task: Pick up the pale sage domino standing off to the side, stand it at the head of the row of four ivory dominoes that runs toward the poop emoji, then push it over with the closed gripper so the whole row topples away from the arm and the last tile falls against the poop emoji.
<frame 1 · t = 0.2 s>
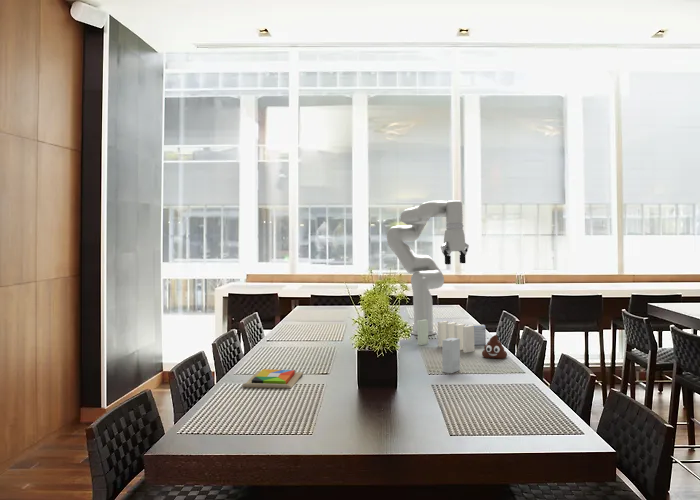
hand: (455, 263, 275), 36 cm above the table, tool pointing down, fingers open, 9 cm apart
domino 3: (451, 347, 260), on the table
wooden puzzle: (273, 383, 210), on the table
domino 5: (468, 351, 252), on the table
domino 2: (443, 346, 264), on the table
skincare box: (451, 372, 218), on the table
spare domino: (423, 344, 270), on the table
poop emoji: (494, 357, 240), on the table
medicine box: (476, 344, 267), on the table
domino 4: (460, 349, 256), on the table
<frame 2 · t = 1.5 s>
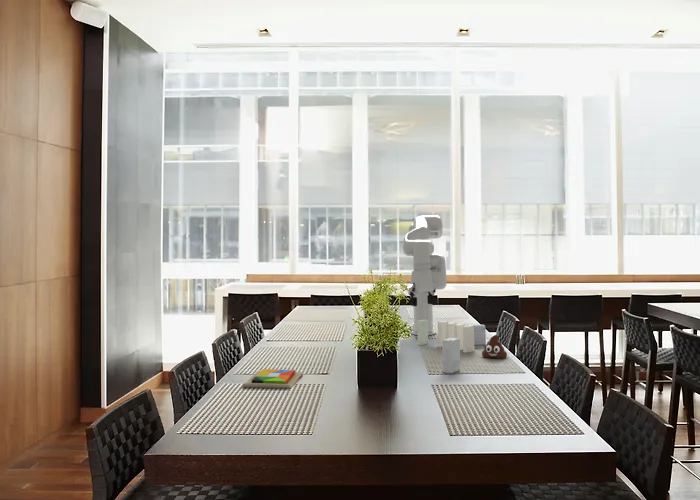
hand: (422, 305, 269), 18 cm above the table, tool pointing down, fingers open, 9 cm apart
nothing on the table moved.
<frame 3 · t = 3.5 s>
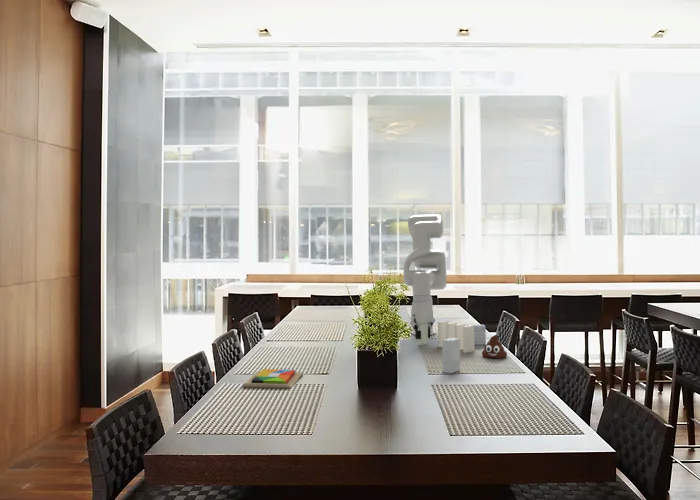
hand: (422, 337, 270), 3 cm above the table, tool pointing down, fingers closed on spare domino, 4 cm apart
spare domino: (423, 344, 270), on the table, touching gripper
everything else where it was.
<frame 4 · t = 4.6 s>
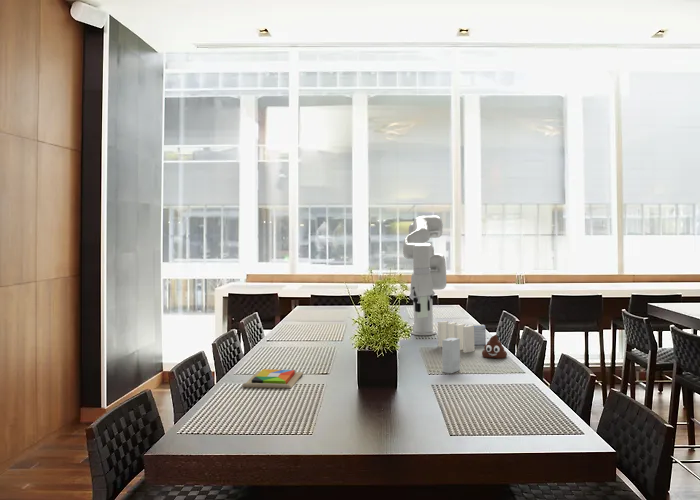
hand: (422, 310, 270), 15 cm above the table, tool pointing down, fingers closed on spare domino, 4 cm apart
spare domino: (422, 317, 270), point 12 cm above the table, touching gripper
everything else where it was.
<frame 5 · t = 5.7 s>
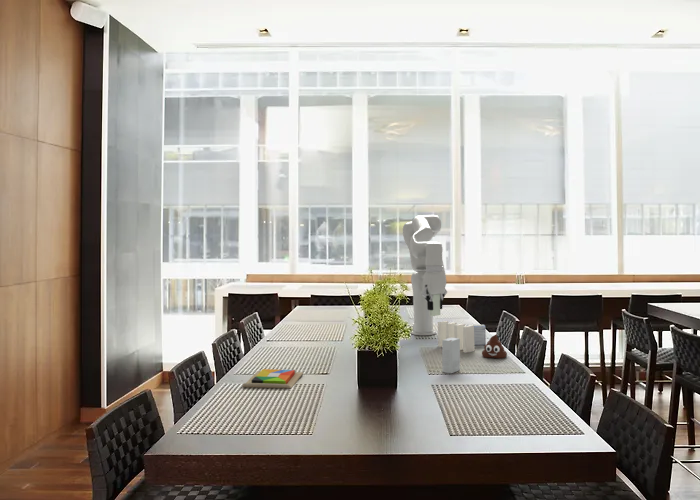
hand: (434, 309, 268), 16 cm above the table, tool pointing down, fingers closed on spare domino, 4 cm apart
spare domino: (435, 315, 268), point 13 cm above the table, touching gripper
everything else where it was.
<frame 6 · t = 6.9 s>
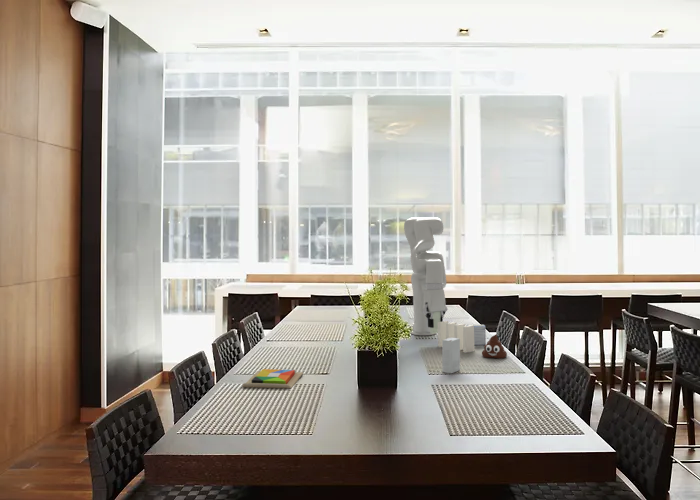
hand: (435, 326, 268), 8 cm above the table, tool pointing down, fingers closed on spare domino, 4 cm apart
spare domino: (435, 332, 268), point 5 cm above the table, touching gripper
everything else where it was.
when the fingers open (4 cm above the table, at t = 8.2 s): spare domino stays where it is, on the table.
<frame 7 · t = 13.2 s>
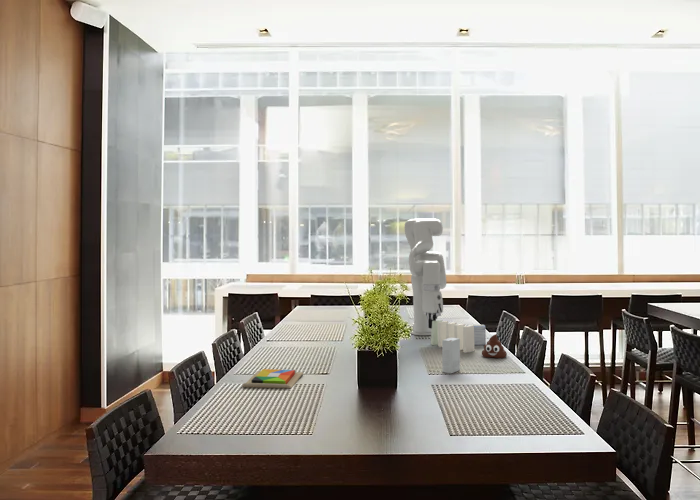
hand: (432, 327, 270), 7 cm above the table, tool pointing down, fingers closed
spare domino: (435, 344, 269), on the table, tilted 8°, touching gripper
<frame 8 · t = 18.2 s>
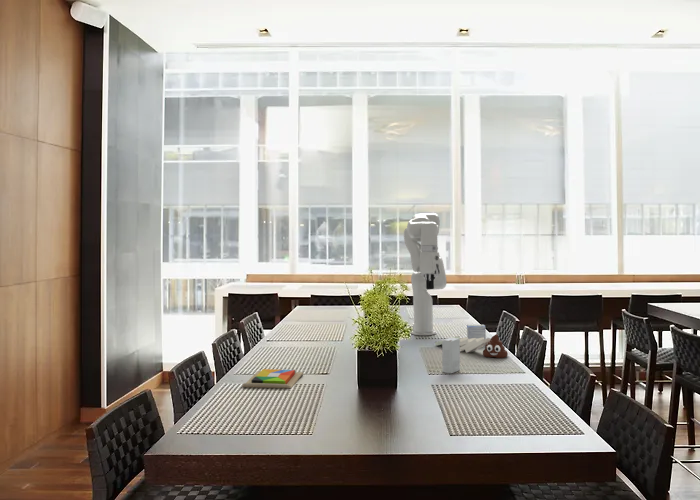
hand: (430, 289, 270), 25 cm above the table, tool pointing down, fingers closed
domino 3: (455, 346, 258), point 1 cm above the table, tilted 66°, touching domino 2, domino 4
domino 5: (469, 350, 251), point 1 cm above the table, tilted 60°, touching poop emoji, domino 4
domino 2: (447, 345, 262), point 1 cm above the table, tilted 68°, touching domino 3, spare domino
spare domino: (439, 343, 267), point 1 cm above the table, tilted 70°, touching domino 2
poop emoji: (495, 357, 241), on the table, touching domino 5
domino 4: (463, 349, 254), point 1 cm above the table, tilted 61°, touching domino 3, domino 5
everything else where it was.
at the end: domino 5 tilted 60°; domino 5 12.8 cm from the poop emoji (horizontally); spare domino tilted 70° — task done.
